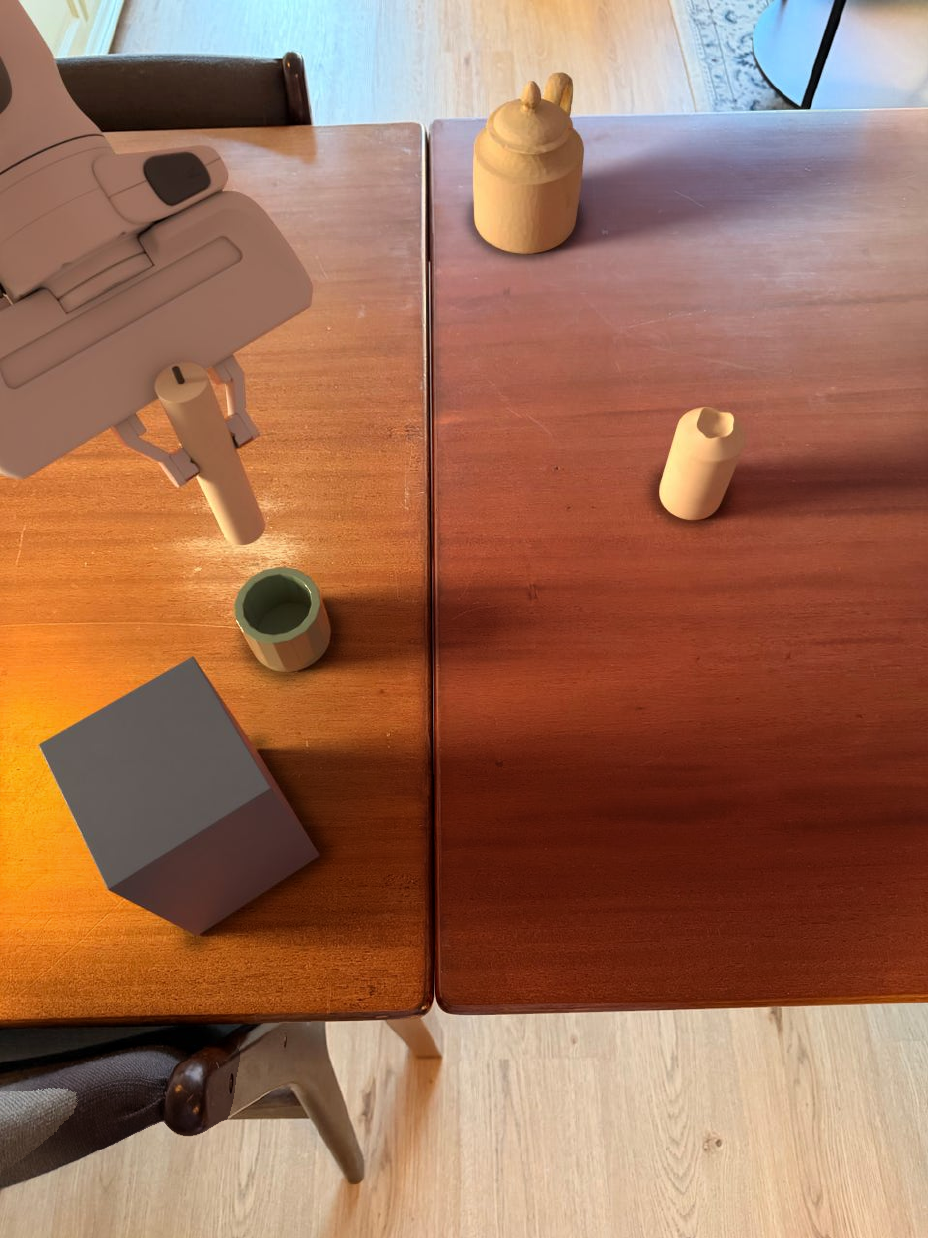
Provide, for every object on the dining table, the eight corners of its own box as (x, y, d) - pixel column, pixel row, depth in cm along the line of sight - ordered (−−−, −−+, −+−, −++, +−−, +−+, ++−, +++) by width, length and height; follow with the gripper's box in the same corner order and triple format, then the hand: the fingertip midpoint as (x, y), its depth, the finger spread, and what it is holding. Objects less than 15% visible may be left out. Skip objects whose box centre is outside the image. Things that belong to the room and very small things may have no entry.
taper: (243, 552, 59) (172, 397, 46) (214, 529, 60) (136, 370, 47) (274, 525, 60) (213, 365, 47) (245, 502, 61) (178, 339, 47)
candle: (647, 482, 81) (667, 407, 72) (701, 461, 82) (727, 385, 73) (677, 529, 78) (702, 458, 69) (733, 508, 79) (764, 435, 70)
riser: (196, 936, 64) (107, 890, 48) (137, 820, 67) (37, 744, 52) (319, 855, 66) (271, 788, 51) (255, 748, 70) (193, 655, 55)
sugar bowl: (468, 164, 101) (466, 24, 88) (566, 159, 101) (579, 18, 88) (476, 258, 94) (476, 121, 81) (582, 252, 94) (599, 114, 81)
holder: (274, 687, 72) (259, 658, 67) (236, 626, 75) (219, 594, 70) (345, 644, 74) (335, 613, 69) (305, 586, 76) (293, 553, 72)
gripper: (-126, 324, 42) (65, 567, 47) (239, 133, 48) (373, 368, 53) (-111, 340, 47) (59, 557, 53) (215, 167, 53) (338, 378, 58)
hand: (219, 461), depth 53 cm, fingers closed on taper, 3 cm apart
